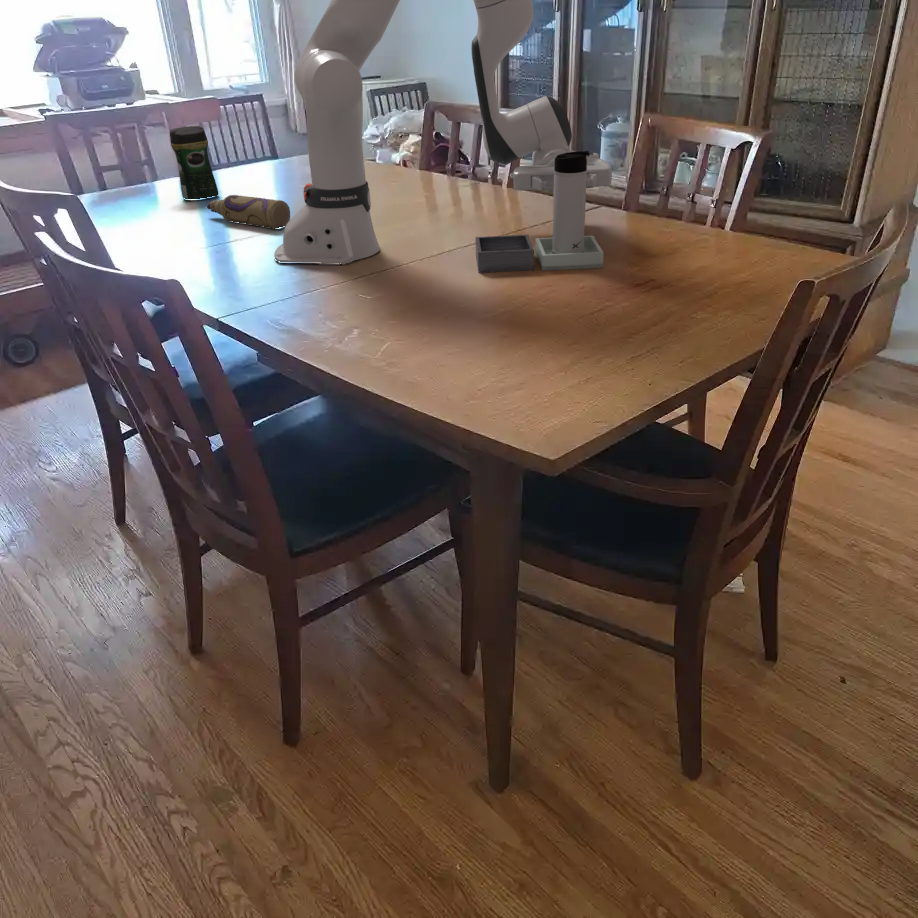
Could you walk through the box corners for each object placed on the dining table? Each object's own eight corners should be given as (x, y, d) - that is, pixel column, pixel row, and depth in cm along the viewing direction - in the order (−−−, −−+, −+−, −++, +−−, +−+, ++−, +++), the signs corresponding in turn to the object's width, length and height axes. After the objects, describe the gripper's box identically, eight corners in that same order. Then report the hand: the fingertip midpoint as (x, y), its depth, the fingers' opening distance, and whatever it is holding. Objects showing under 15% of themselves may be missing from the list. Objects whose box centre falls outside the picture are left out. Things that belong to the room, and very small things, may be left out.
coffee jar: (214, 192, 226) (200, 122, 216) (222, 198, 220) (208, 126, 210) (179, 198, 222) (164, 127, 212) (186, 203, 216) (171, 130, 206)
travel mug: (583, 261, 157) (588, 154, 147) (550, 260, 158) (552, 154, 148) (586, 251, 162) (590, 148, 152) (554, 250, 164) (556, 148, 153)
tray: (542, 270, 156) (542, 255, 154) (535, 252, 166) (535, 238, 164) (602, 267, 156) (603, 252, 154) (592, 249, 166) (592, 235, 164)
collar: (478, 272, 156) (478, 252, 154) (475, 256, 165) (475, 237, 163) (533, 270, 156) (534, 250, 154) (528, 253, 165) (528, 234, 163)
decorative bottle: (294, 225, 192) (290, 197, 189) (272, 233, 187) (267, 204, 184) (223, 213, 205) (218, 186, 202) (200, 220, 200) (194, 193, 197)
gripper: (508, 157, 168) (514, 171, 156) (605, 152, 168) (618, 166, 156) (509, 188, 171) (514, 203, 160) (603, 183, 171) (616, 198, 160)
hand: (566, 185), depth 158 cm, fingers open, 8 cm apart
